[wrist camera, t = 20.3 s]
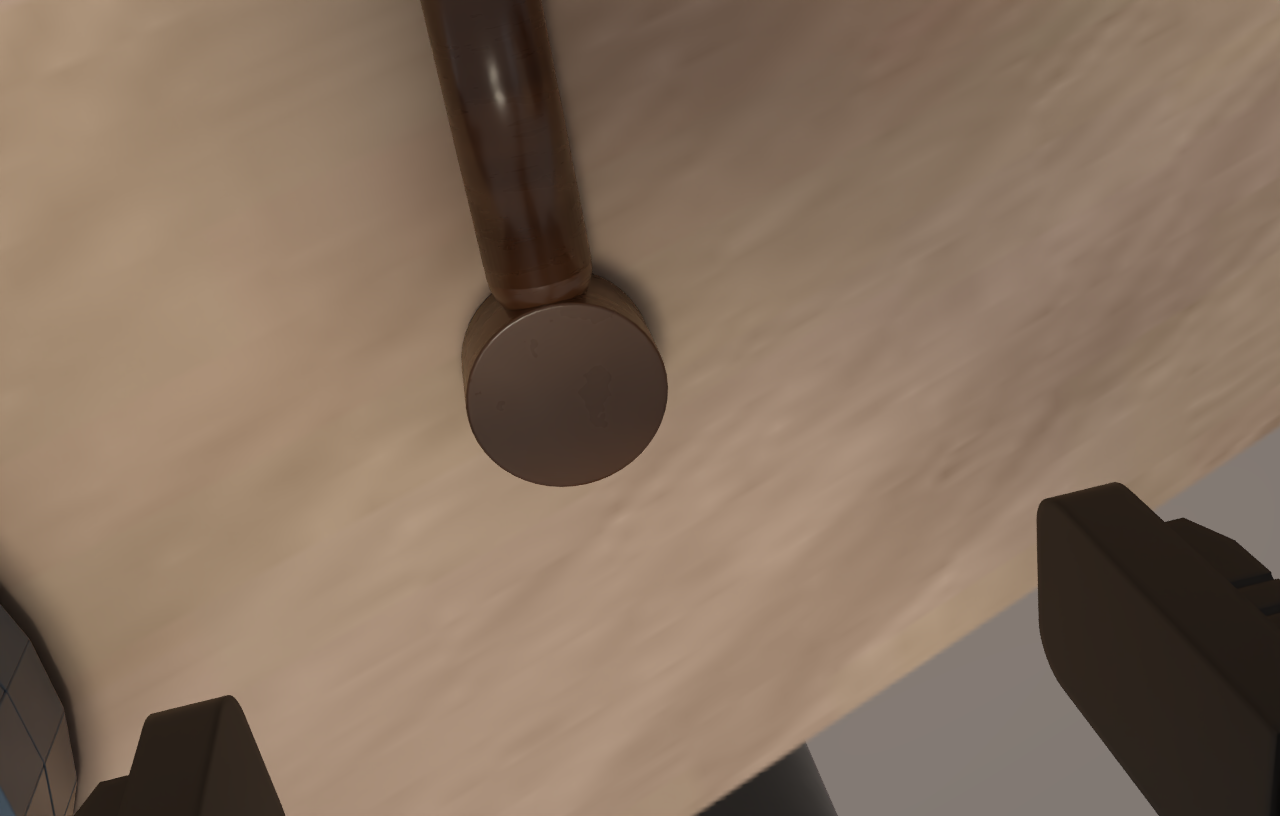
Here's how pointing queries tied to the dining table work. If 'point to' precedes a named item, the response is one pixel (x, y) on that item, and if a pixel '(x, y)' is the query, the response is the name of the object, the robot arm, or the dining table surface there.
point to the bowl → (31, 733)
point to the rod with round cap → (537, 263)
